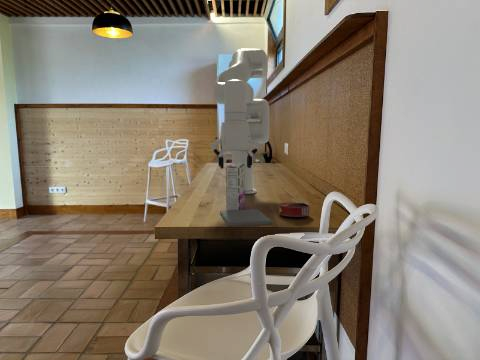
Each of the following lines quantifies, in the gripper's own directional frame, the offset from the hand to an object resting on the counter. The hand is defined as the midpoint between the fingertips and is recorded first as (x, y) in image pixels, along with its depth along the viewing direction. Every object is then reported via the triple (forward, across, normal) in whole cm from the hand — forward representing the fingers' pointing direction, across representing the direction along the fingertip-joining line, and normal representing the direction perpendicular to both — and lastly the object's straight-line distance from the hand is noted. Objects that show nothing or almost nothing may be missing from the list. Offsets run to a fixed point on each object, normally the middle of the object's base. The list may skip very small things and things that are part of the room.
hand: (235, 167), depth 115 cm
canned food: (+15, -15, +15) cm, 26 cm away
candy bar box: (+16, 0, 0) cm, 16 cm away
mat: (+14, 0, +13) cm, 20 cm away
